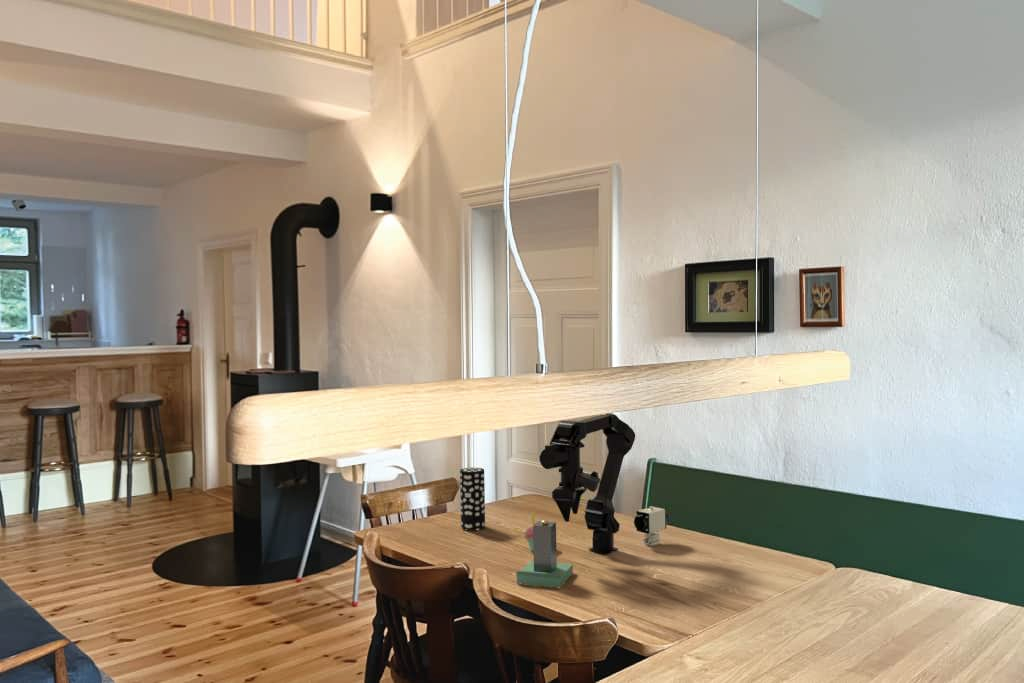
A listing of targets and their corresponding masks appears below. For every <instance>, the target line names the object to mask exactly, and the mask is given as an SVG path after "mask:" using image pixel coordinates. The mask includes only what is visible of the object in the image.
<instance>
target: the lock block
mask: <svg viewBox="0 0 1024 683" xmlns="http://www.w3.org/2000/svg"><path fill="white" fill-rule="evenodd" d="M532 527H533V549H534V551H533V561H534V571H535V572H546V573H552V572H553V571H554V570H555V569H556V568H557V563H558V561H557V557H558V556H557V522H556V521H549V520H547V519H542V520H538V521H537V522H536V523H535V524H534V525H533V524H532Z"/></svg>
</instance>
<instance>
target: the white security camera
mask: <svg viewBox="0 0 1024 683" xmlns="http://www.w3.org/2000/svg"><path fill="white" fill-rule="evenodd" d="M635 513H636V514H635V517H634V519H633V525H634V528H636V532H639V533H643V537H644V538H643V545H645V544H646V545H647V546H650V547H655V546H659V545H660V542H659V541H660V540H661V537H660V534H659V533H658V532H659V531H663V530H666V529H667V524H668V522H669V520H670V517H669V514H668V512H667V509H666V508H663V507H658V506H652V505H651V506H649V507H648V508H644V509H643V508H642V509H639V510H636V512H635ZM658 544H659V545H658ZM646 545H645V546H646Z"/></svg>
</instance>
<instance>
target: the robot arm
mask: <svg viewBox="0 0 1024 683" xmlns="http://www.w3.org/2000/svg"><path fill="white" fill-rule="evenodd" d="M599 415H600V416H599ZM599 415H596V416H592V417H587V418H585V419H584V418H583V419H581V420H560V421H559V422H558V425H557V427H556V428H555V430H554V433H553V435H552V437H551V439H550V441H549V444H548V443H547V444H544V449H542V450H541V453H540V454H539V462H540V465H541V466H542V468H544V469H546V470H552V469H557V468H558V473H560V481H559V482H558V486H557V487H555V489H553V490H552V492H551V499H553V501H554V502H555V504H556V506H557V508H558V509H559V512H560V513H561V516H562V518H563V521H564V522H567V523H568V522H569V521H570V517H571V511H572V513H573V515H578V511H579V507H580V503H581V498H582V495H583V494H584V493H585V492H586V491H587V490H588V491H589V492H592V493H594V492H596V491H597V493H596V496H594V498H593V499H591V498H590V499H588V500H587V502H586V506H585V507H586V508H585V510H584V519H585V524H586V528H587V530H589V531H590V530H591V531H592V537H591V538H592V540H591V541H592V547H589V549H588V551H590V552H595V553H597V554H598V553H599V554H601V555H607V554H611V553H613V552H617V551H618V550H619V549H618V547H615V546H614V544H615V543H614V538H615V537H614V535H615V534H618V532H619V531H620V523H619V522H618V520H617V519H616V517H615V507H614V503H613V499H614V496H615V495H614V494H615V491H616V487H617V484H618V481H619V480H618V479H619V476H620V472H621V469H622V465H623V461H624V458H625V456H626V455H627V454H628V453H629V452H630V451H631V450H632V448H633V446H634V443H635V440H636V433H635V432H634V429H633V428H632V427H631V426H630V425H629V424H627V423H626V422H624V421H623V420H621V419H620V418H619V416H618V415H616V414H615V413H607V414H606V415H601V414H599ZM598 431H602V433H603V434H604V436H605V437H606V440H605V444H606V448H607V450H608V451H607V455H606V459H605V464H604V466H603V469H602V470H603V471H602V473H601V478H600V476H599V472H598V471H595V470H594V471H592V472H591V473H590V474H589V473H586V472H584V467H583V466H581V448H585V447H586V446H585V443H583V442H582V440H584V439H586V437H587V435H588V434H591V433H595V432H598Z"/></svg>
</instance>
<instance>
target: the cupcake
mask: <svg viewBox="0 0 1024 683" xmlns="http://www.w3.org/2000/svg"><path fill="white" fill-rule="evenodd" d="M530 517H531V522H532V526H531V527H528V528H527V529H526V531H525V532H524V537H523V538H524V539H526V541H527V542H528V545H529V548H530V551H532V550H533V551H532V552H534V549H533V525H534V524H536V523H535V517H534V513H533V512H532V511H530Z"/></svg>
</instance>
